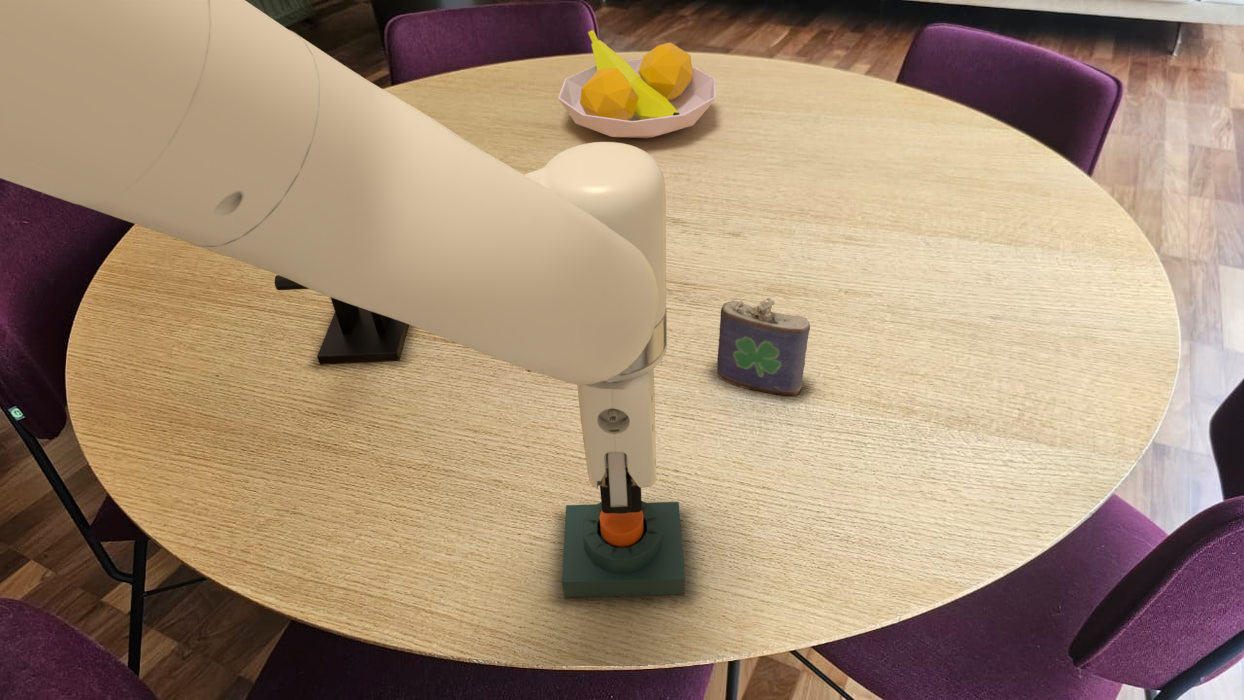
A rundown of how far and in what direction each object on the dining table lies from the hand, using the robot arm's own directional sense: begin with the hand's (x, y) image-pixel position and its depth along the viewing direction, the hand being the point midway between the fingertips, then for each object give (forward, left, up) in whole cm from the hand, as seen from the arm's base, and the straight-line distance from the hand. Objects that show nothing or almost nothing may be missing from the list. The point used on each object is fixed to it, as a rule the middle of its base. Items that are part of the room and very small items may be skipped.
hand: (622, 504), depth 66 cm
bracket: (+13, +43, -7) cm, 45 cm away
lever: (+8, +39, +6) cm, 41 cm away
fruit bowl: (+79, +44, -7) cm, 91 cm away
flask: (+26, -1, -7) cm, 27 cm away
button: (0, 0, -3) cm, 3 cm away
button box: (0, 0, -7) cm, 7 cm away
